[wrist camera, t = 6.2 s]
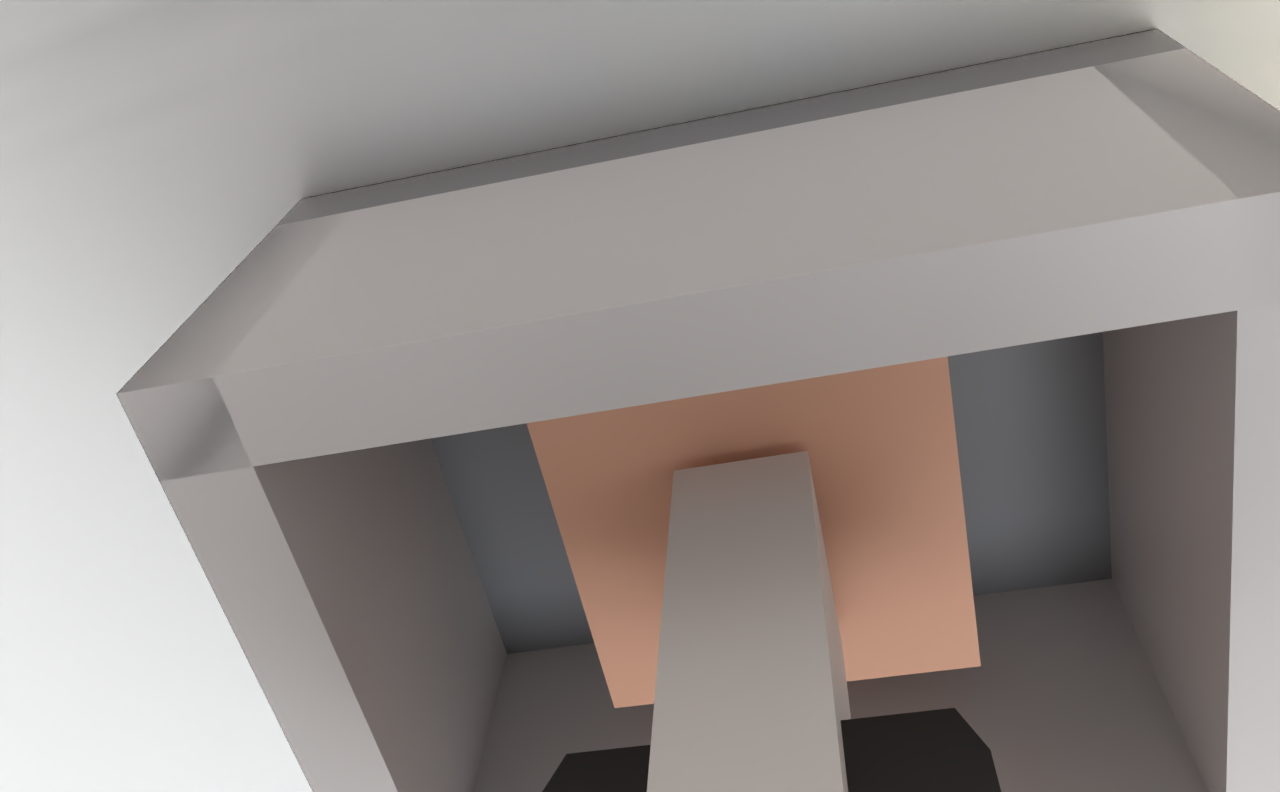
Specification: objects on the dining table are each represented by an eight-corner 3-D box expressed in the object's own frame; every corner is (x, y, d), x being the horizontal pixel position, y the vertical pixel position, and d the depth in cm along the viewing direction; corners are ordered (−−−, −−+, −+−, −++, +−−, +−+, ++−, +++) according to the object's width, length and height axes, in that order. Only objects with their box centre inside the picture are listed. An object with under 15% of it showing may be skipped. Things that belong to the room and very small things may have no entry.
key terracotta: (547, 315, 15) (519, 400, 13) (916, 251, 14) (944, 332, 12) (628, 598, 17) (614, 707, 15) (951, 556, 16) (980, 666, 14)
